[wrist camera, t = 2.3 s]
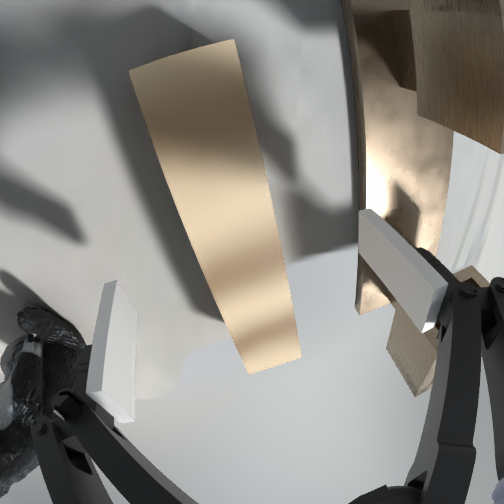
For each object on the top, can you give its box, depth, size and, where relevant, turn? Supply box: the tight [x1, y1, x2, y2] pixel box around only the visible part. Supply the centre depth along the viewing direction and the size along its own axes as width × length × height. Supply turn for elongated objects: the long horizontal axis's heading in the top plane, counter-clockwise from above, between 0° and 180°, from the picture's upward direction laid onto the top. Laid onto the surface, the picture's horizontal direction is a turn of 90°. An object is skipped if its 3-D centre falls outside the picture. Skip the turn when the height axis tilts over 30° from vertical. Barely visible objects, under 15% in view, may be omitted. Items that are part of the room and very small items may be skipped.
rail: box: [128, 39, 302, 374], centre depth 17 cm, size 20×4×5 cm, turn 13°
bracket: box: [341, 0, 504, 397], centre depth 16 cm, size 25×8×10 cm, turn 11°
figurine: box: [0, 304, 87, 498], centre depth 15 cm, size 10×10×15 cm
